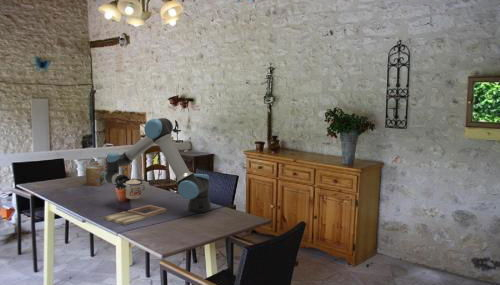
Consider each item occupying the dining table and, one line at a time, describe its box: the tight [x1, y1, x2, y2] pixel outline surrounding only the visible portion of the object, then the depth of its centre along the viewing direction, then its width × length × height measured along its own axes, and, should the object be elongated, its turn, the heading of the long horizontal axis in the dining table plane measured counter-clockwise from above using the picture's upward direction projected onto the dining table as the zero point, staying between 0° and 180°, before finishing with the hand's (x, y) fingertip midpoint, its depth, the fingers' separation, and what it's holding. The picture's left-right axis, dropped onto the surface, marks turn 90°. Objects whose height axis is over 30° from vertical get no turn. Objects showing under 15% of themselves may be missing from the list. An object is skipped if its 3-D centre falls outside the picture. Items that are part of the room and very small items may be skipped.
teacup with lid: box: [125, 177, 146, 200], centre depth 249 cm, size 12×9×12 cm
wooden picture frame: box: [126, 204, 167, 219], centre depth 257 cm, size 15×18×2 cm
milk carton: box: [85, 159, 105, 187], centre depth 332 cm, size 11×11×19 cm
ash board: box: [103, 211, 146, 226], centre depth 242 cm, size 18×15×2 cm
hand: (138, 186), depth 246 cm, fingers closed on teacup with lid, 12 cm apart
